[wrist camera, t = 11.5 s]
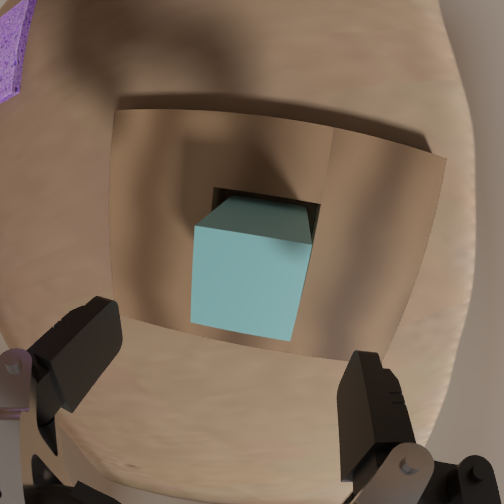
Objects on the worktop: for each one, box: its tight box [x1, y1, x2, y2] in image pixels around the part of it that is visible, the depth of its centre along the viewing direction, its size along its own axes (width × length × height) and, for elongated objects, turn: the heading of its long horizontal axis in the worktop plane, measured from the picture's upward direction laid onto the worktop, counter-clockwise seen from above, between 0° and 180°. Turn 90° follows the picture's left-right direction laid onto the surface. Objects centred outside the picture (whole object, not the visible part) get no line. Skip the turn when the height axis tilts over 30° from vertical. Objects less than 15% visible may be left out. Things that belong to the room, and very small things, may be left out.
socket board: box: [109, 109, 447, 363], centre depth 20 cm, size 22×16×2 cm
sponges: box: [0, 0, 37, 104], centre depth 17 cm, size 7×13×2 cm, turn 179°
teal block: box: [191, 195, 312, 341], centre depth 17 cm, size 5×5×8 cm
